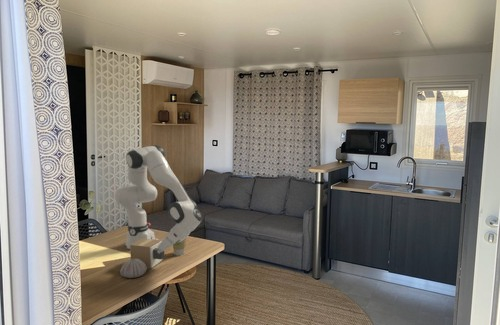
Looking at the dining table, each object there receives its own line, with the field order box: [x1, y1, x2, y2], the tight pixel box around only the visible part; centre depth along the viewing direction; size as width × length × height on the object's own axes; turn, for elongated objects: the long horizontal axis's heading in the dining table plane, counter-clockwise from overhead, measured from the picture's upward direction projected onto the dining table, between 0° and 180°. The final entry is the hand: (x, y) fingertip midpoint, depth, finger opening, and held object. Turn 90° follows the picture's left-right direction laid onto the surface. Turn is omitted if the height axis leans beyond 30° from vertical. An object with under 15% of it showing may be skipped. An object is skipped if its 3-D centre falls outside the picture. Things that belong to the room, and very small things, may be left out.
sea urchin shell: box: [119, 258, 148, 279], centre depth 196 cm, size 13×14×8 cm
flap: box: [150, 240, 165, 269], centre depth 208 cm, size 12×6×11 cm, turn 165°
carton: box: [129, 238, 162, 269], centre depth 211 cm, size 12×12×12 cm
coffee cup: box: [172, 237, 187, 256], centre depth 226 cm, size 10×10×15 cm
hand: (162, 249), depth 204 cm, fingers open, 8 cm apart
